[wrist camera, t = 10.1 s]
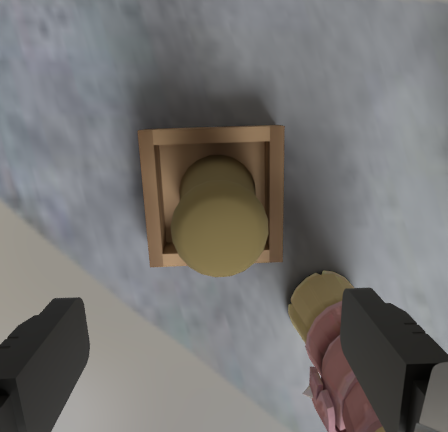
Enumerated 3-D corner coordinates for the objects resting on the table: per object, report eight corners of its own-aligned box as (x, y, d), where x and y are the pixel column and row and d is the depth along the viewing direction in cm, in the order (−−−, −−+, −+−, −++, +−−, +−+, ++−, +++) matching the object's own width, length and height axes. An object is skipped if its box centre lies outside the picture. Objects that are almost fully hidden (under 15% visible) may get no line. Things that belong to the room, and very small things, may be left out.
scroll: (267, 336, 33) (345, 651, 13) (290, 261, 31) (420, 503, 11) (346, 351, 33) (529, 673, 14) (373, 279, 31) (628, 536, 12)
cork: (214, 137, 27) (214, 150, 16) (271, 189, 28) (307, 233, 18) (163, 196, 28) (132, 245, 17) (221, 244, 29) (225, 316, 19)
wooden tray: (276, 124, 28) (284, 125, 24) (275, 246, 30) (282, 261, 27) (146, 128, 27) (137, 130, 24) (156, 251, 30) (150, 267, 27)
